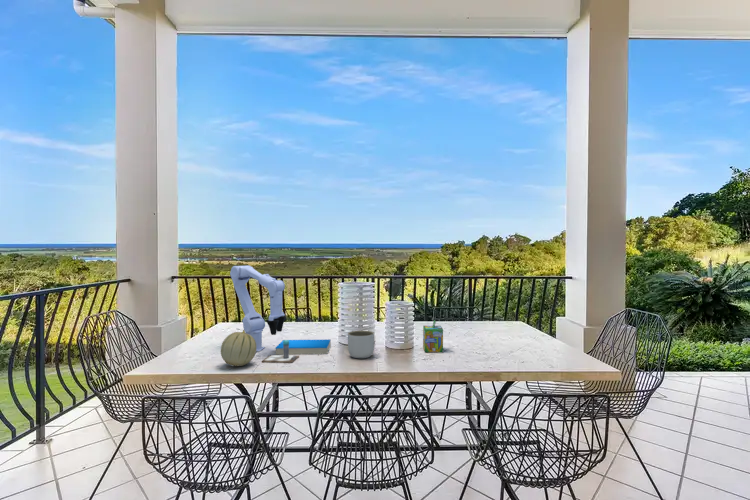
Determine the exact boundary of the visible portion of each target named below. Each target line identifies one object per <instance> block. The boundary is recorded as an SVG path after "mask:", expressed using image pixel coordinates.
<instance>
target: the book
mask: <svg viewBox="0 0 750 500" xmlns="http://www.w3.org/2000/svg"><path fill="white" fill-rule="evenodd" d="M288 340H289V356H294V355H327V354H328V352H329V350H330V348H331V345H332V344H331V339H329V338H328V339H288ZM275 355H283V340H282V341H281V342H280V343H279V344H278V345H276V346H275Z"/></svg>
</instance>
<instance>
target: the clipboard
mask: <svg viewBox="0 0 750 500" xmlns="http://www.w3.org/2000/svg"><path fill="white" fill-rule="evenodd" d="M299 358H300V356H299V355H289V358H288V359H284V358H283V355H276V354H270V355H268V356H267V357H266V358H264V359H263V360H261V363H271V364H272V363H273V364H274V363H276V364H278V363H280V364H293V363H294V362H296V360H297V359H299Z"/></svg>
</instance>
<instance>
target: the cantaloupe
mask: <svg viewBox="0 0 750 500" xmlns="http://www.w3.org/2000/svg"><path fill="white" fill-rule="evenodd" d="M256 348H257V347H256V342H255V340H254V338H253V337H252V336H251V335H249V334H247V333H245V330H244V329H243V330H242V331H241V332H240V331H235V332H232V333H230V334H229V335H227V336H226V337H225V338H224V339H223V341H222V342H221V346H220V356H221V358H222V359H223V361H224V362H225V363H226V364H228V365H230V366H231V367H243V366H245V365H247V364H249V363H250V362H251V361H252V360H253V359H254V358H255V356H256V353H257V351H256Z"/></svg>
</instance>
